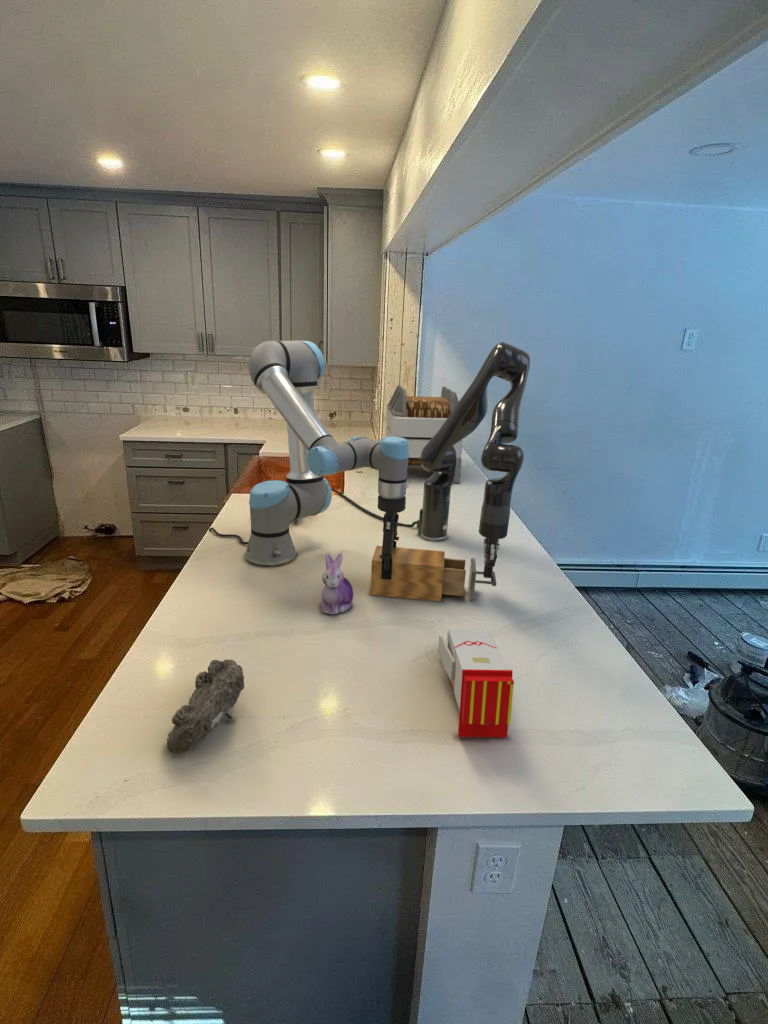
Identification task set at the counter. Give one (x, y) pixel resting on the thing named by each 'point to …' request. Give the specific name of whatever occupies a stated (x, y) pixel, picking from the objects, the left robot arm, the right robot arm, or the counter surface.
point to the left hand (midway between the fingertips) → (388, 570)
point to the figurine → (335, 587)
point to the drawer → (461, 577)
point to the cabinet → (410, 574)
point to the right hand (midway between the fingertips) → (487, 576)
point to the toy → (478, 682)
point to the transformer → (420, 422)
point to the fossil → (206, 705)
